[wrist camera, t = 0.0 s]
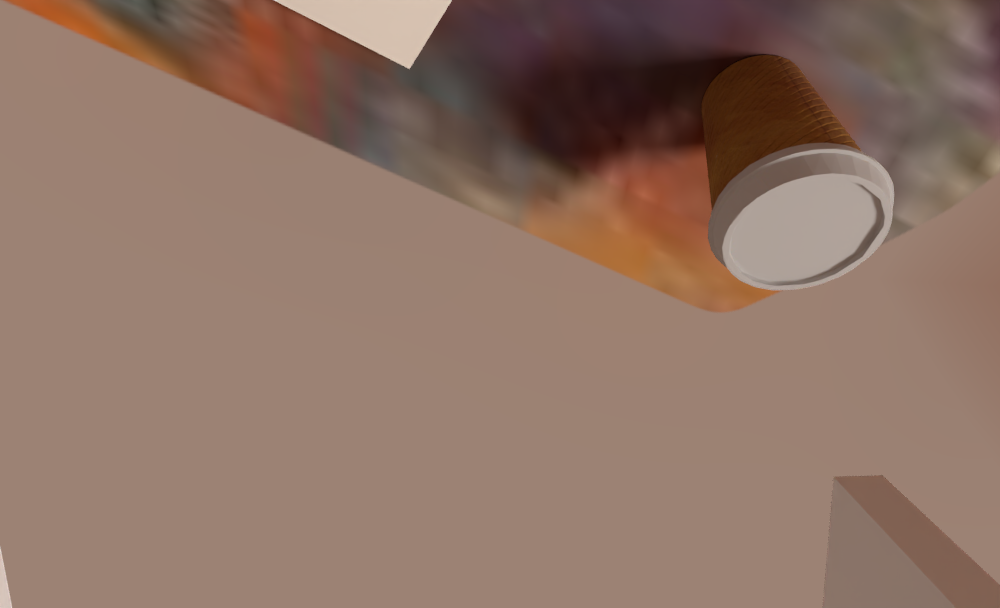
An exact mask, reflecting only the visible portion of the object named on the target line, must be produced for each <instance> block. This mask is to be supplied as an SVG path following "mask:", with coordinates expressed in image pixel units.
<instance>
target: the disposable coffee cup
mask: <svg viewBox="0 0 1000 608" xmlns="http://www.w3.org/2000/svg"><path fill="white" fill-rule="evenodd" d="M701 113H702V120H703V129H704V138H705V148H706V158H707V167H708V177H709V185H710V195H711V205H712V213H711V217H710V220H709V229H708V239H709V243H710V247H711V250H712V252H713V253H714V255H715V257H716V258H717V259H718V260H719V261H720V262H721V263H722V264H723V265H724V266H725V267H727V268H728V269H729V271H730V272H731V273H732V274H733V275H734V276H735V277H737V278H738V279H739V280H740V281H742V282H744V283H747V284H749V285H751V286H754V287H757V288H763V289H769V290H796V289H801V288H806V287H810V286H815V285H820V284H822V283H825V282H827V281H830V280H833V279H835V278H838V277H840V276H842V275H843V274H845V273H847V272H849V271H851V270H852V269H854V268H855V267H856V266H858V265H859V264H860V263H862V262H863V261H864V260H865V259H867V258H868V257H870V256H871V255H872V254H873V253H874V252H875V250H876V249H877V248H878V247H879V246H880V245H881V244H882V242H883V240H884V239H885V237H886V235H887V234H888V232H889V229H890V226H891V223H892V214H893V212H892V207H893V203H894V187H893V183H892V181H891V178H890V176H889V174H888V172H887V171H886V170H885V169H884V168H883V167H882V166H881V165H880V164H879V163H878V162H877V161H876V160H875V159H874V158H873V157H870V156H868V155H866V154H865V153H863V152H862V151H861V150H860V148H859V147H858V146H857V145H856V144H855V141H854V140H853V139H852V138H851V137H850V135H849V134H848V133H847V132H846V130H845V128H844V127H843V126H842V125H841V123H840V122H839V121H838V119H837V118H836V117H835V115H834V114H833V113H832V111H831V110H830V109H829V108H828V107H827V105H826V104H825V102H824V101H823V99H822V98H821V97H820V96H819V95H818V93H817V92H816V91H815V90H814V88H813V87H812V85H811V84H810V83H809V81H808V80H807V79H806V77H805V76H804V75H803V73H802V72H801V70H800V69H799V68H798V67H797V66H796V65H795V64H794V63H793V62H791V61H790V60H788V59H785V58H783V57H780V56H772V55H759V56H754V57H749V58H746V59H743V60H740V61H738V62H736V63H734V64H732V65H731V66H729V67H727V68H726V69H725V70H724V71H722V72H721V73H720V74H718V75H717V77H716V78H715V79H714V80H713V81H712V82H711V84H710V85H709V87H708V88H707V90H706V92H705V94H704V97H703V100H702V105H701Z"/></svg>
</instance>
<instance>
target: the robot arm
mask: <svg viewBox="0 0 1000 608" xmlns="http://www.w3.org/2000/svg"><path fill="white" fill-rule="evenodd" d="M0 608H12V604H11V599H10V594H9V589H8V583H7V579H6V574H5V568H4V564H3V558H2V553H1V548H0ZM823 608H1000V585H999V584H998V583H997V582H996V581H995V580H994V579H993V578H992V577H991V576H990V575H989V574H987V573H986V572H985V571H984V570H983V569H982V568H981V567H980V566H979V565H978V564H977V563H976V562H975V561H973V560H972V559H971V558H970V557H969V556H968V555H967V554H966V553H965V552H964V551H963V550H962V549H961V548H960V547H958V546H957V545H956V544H955V543H954V542H953V541H952V540H951V539H950V538H949V537H948V536H947V535H946V534H944V533H943V532H942V531H941V530H940V529H939V528H938V527H937V526H936V525H935V524H934V523H933V522H932V521H931V520H930V519H928V518H927V517H926V516H925V515H924V514H923V513H922V512H921V511H920V510H919V509H918V508H917V507H916V506H915V505H914V504H912V503H911V502H910V501H909V500H908V499H907V498H906V497H905V496H904V495H903V494H902V493H901V492H900V491H898V490H897V489H896V488H895V487H894V486H893V485H892V484H891V483H890V482H889V481H888V480H887V479H886V478H885V477H883V476H882V475H879V476H843V477H834V478H833V490H832V502H831V513H830V526H829V537H828V549H827V562H826V573H825V586H824V597H823Z"/></svg>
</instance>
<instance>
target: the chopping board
mask: <svg viewBox="0 0 1000 608" xmlns="http://www.w3.org/2000/svg"><path fill="white" fill-rule="evenodd" d="M274 1H276V2H278V3H280V4H282V5H284V6H286V7H288V8H290V9H292V10H294V11H296V12H298V13H300V14H302V15H304V16H306V17H308V18H310V19H312V20H314V21H316V22H318V23H320V24H322V25H323V26H325V27H327V28H329V29H331V30H333V31H335V32H337V33H339V34H341V35H343V36H345V37H347V38H349V39H351V40H353V41H355V42H357V43H359V44H361V45H363V46H365V47H367V48H369V49H371V50H373V51H375V52H377V53H379V54H381V55H383V56H385V57H387V58H389V59H391V60H393V61H395V62H397V63H399V64H401V65H403V66H405V67H407V68H409V69H410V67H411V66H412V64H413V62H414V61H415V59H416V58H417V56H418V54H419V53H420V51H421V50H422V48H423V46H424V45H425V43H426V41H427V40H428V38H429V37H430V35H431V33H432V32H433V30H434V28H435V27H436V25H437V24H438V22H439V20H440V19H441V17H442V15H443V14H444V12H445V11H446V9H447V7H448V6H449V4H450V3H451V1H452V0H274Z"/></svg>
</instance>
